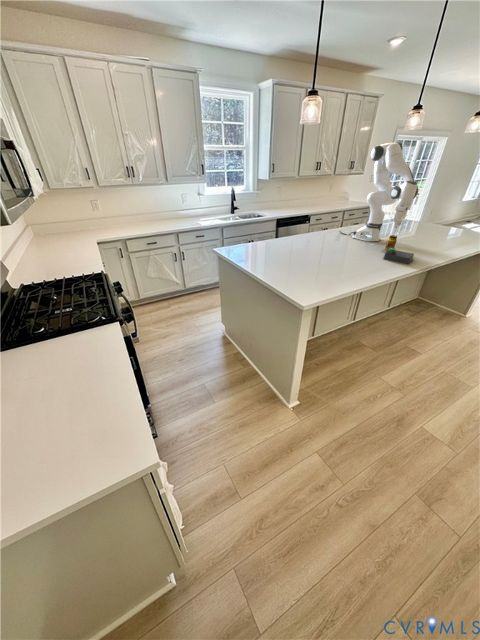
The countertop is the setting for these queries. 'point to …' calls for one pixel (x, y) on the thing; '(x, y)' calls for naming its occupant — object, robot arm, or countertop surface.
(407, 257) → the control panel
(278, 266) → the countertop surface
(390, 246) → the condiment
